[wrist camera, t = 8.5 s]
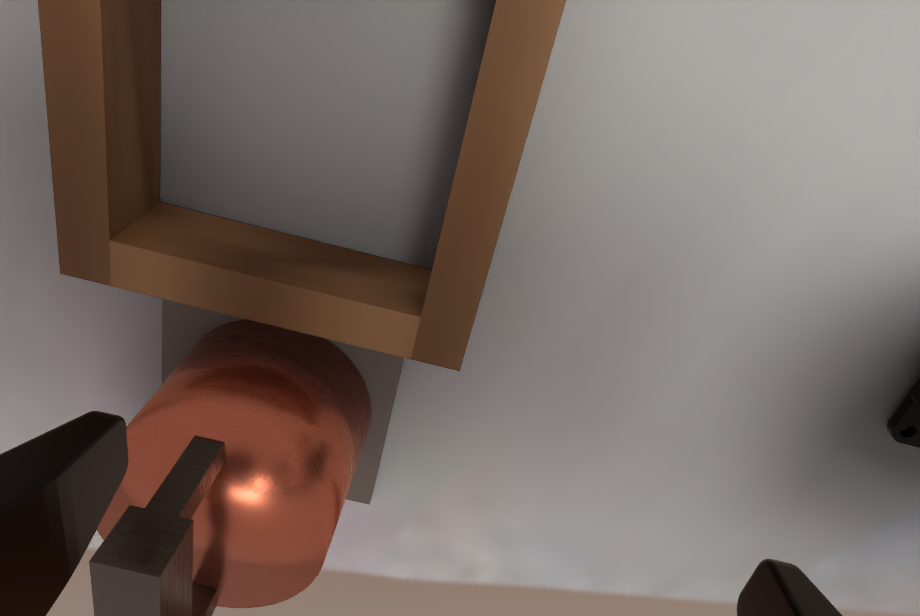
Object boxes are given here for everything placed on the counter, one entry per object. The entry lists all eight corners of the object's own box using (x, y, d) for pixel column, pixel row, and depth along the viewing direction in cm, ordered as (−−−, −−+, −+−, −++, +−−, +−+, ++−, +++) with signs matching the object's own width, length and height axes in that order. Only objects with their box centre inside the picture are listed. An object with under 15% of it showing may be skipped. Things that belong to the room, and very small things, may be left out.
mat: (410, 326, 23) (409, 332, 23) (371, 497, 27) (369, 504, 27) (168, 266, 23) (162, 272, 22) (166, 448, 27) (161, 455, 27)
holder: (580, -81, 17) (589, -81, 14) (467, 319, 23) (459, 371, 20) (100, -212, 16) (18, -237, 14) (115, 232, 22) (60, 273, 20)
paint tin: (385, 345, 23) (288, 604, 14) (358, 491, 26) (266, 773, 18) (183, 297, 23) (-42, 528, 14) (182, 450, 26) (1, 713, 17)
